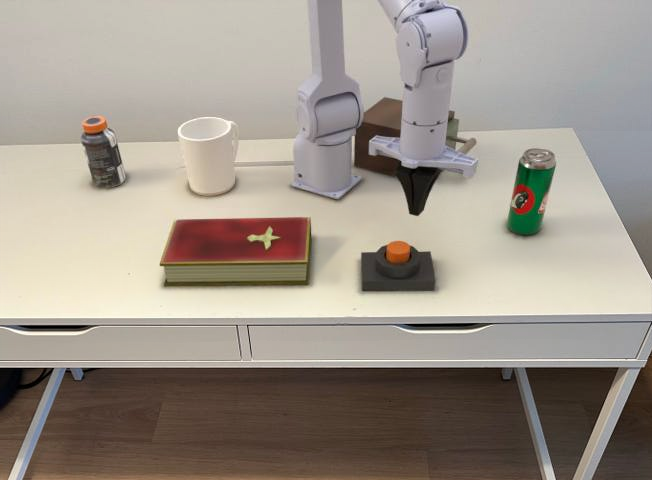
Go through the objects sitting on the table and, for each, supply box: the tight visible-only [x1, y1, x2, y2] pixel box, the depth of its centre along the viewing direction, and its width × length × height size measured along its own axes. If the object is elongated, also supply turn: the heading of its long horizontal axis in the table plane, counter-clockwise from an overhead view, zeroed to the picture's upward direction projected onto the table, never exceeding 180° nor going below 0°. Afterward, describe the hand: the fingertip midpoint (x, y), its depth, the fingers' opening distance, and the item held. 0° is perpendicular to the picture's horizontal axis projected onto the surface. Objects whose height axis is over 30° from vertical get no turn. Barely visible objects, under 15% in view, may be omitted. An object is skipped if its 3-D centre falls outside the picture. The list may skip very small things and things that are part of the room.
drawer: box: [445, 117, 478, 155], centre depth 114 cm, size 17×9×7 cm, turn 55°
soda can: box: [506, 147, 557, 236], centre depth 97 cm, size 5×5×12 cm
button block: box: [360, 244, 436, 292], centre depth 93 cm, size 10×7×4 cm
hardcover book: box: [159, 216, 312, 287], centre depth 98 cm, size 12×21×4 cm, turn 86°
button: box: [386, 240, 411, 263], centre depth 92 cm, size 3×3×2 cm
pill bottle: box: [80, 115, 127, 189], centre depth 116 cm, size 6×6×11 cm
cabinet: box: [353, 96, 456, 178], centre depth 116 cm, size 14×11×9 cm
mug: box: [177, 116, 240, 197], centre depth 113 cm, size 11×9×10 cm
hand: (416, 211), depth 92 cm, fingers closed
